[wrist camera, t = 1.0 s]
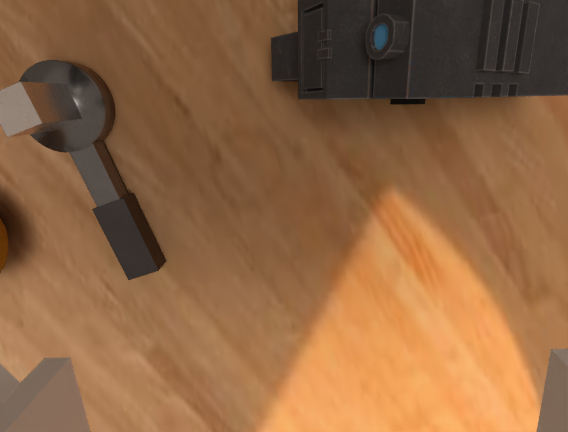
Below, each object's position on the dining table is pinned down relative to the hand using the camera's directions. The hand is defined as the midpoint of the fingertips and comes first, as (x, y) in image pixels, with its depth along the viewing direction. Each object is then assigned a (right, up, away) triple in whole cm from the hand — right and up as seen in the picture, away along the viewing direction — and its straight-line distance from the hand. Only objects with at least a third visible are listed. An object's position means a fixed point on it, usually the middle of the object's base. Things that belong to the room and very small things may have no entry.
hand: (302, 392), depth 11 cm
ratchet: (-16, +9, +23) cm, 30 cm away
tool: (+9, +17, +19) cm, 28 cm away
